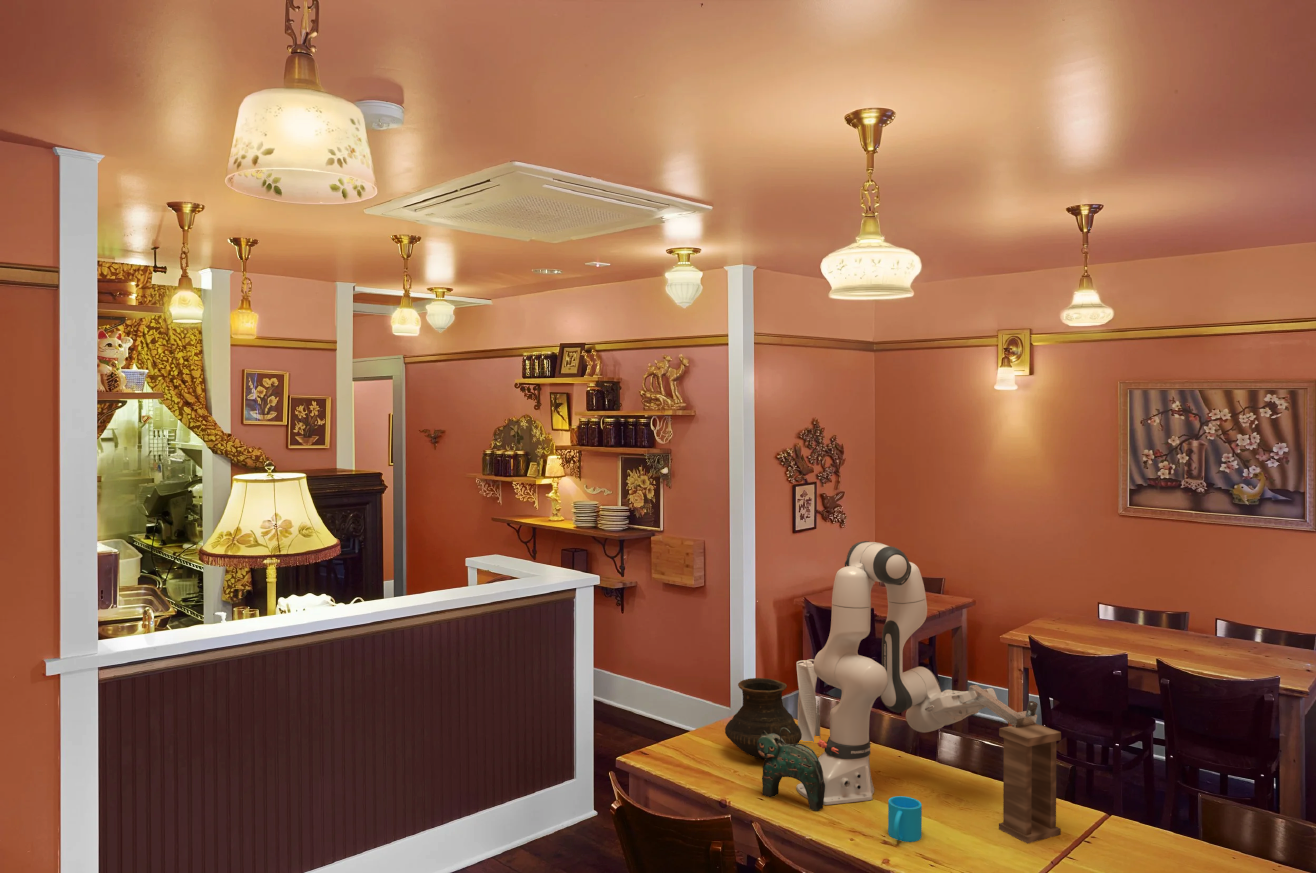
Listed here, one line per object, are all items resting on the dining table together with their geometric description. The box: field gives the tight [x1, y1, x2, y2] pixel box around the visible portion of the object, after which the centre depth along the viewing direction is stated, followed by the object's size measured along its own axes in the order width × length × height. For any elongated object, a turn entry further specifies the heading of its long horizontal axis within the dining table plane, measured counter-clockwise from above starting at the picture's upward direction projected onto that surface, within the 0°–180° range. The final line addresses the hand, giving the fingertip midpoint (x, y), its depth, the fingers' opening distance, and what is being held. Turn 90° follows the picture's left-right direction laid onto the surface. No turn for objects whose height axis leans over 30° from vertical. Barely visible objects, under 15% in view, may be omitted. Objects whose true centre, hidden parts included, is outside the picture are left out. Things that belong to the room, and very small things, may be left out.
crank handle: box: [967, 684, 1038, 727], centre depth 234 cm, size 17×7×6 cm, turn 26°
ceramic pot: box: [724, 677, 802, 760], centre depth 278 cm, size 24×24×22 cm
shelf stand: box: [998, 722, 1062, 844], centre depth 224 cm, size 12×9×26 cm
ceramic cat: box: [757, 727, 825, 812], centre depth 242 cm, size 20×6×20 cm, turn 50°
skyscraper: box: [796, 658, 821, 742], centre depth 293 cm, size 8×8×28 cm
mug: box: [887, 795, 923, 843], centre depth 220 cm, size 12×8×8 cm
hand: (982, 692), depth 238 cm, fingers closed on crank handle, 2 cm apart
